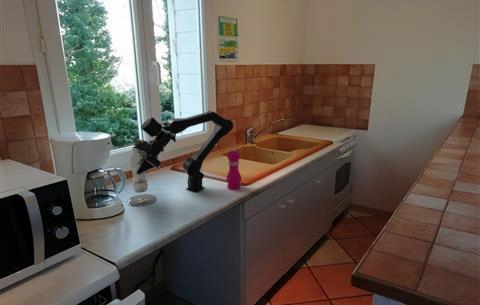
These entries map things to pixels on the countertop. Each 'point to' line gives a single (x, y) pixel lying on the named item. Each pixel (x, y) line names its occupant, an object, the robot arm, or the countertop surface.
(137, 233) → the countertop surface
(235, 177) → the pepper mill
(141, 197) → the round gray disc
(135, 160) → the silver bottle
